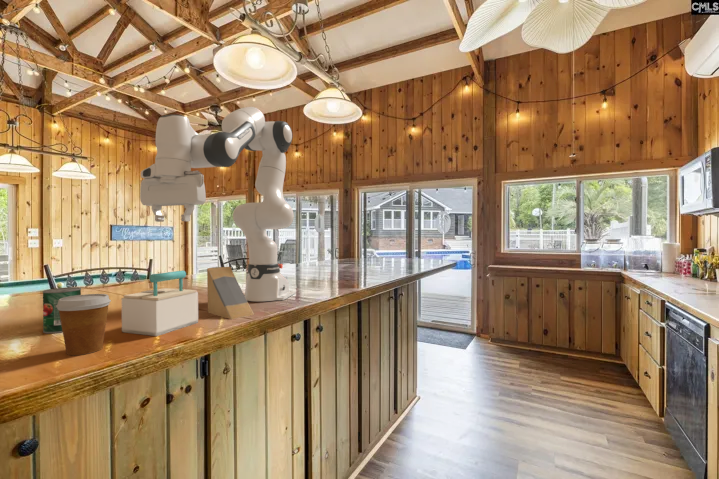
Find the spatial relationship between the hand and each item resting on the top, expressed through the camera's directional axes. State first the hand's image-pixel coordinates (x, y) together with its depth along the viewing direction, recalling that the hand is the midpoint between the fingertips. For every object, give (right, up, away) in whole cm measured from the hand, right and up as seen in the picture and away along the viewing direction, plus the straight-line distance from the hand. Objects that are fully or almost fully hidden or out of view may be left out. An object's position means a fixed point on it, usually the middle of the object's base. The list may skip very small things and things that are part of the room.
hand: (172, 221), depth 95 cm
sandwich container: (+10, -30, +17) cm, 36 cm away
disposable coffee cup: (-9, -30, -19) cm, 37 cm away
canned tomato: (-29, -30, -2) cm, 42 cm away
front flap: (0, -21, -1) cm, 21 cm away
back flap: (-6, -21, +1) cm, 21 cm away
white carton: (-3, -30, 0) cm, 30 cm away
